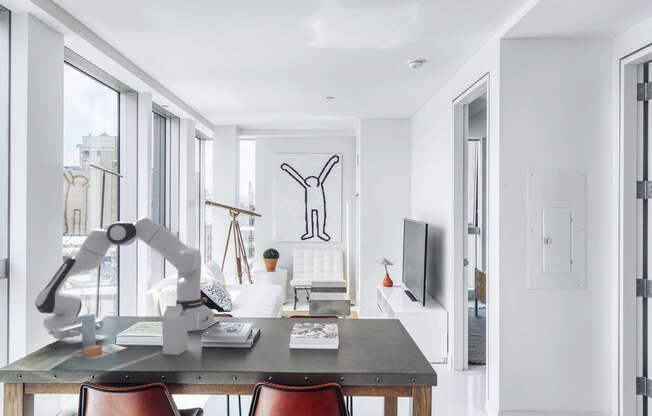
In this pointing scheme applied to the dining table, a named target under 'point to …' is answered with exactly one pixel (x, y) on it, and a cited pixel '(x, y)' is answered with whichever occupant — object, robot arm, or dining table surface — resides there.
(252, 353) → the dining table surface
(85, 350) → the terracotta marker
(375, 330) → the dining table surface
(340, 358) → the dining table surface
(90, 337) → the tall grey block
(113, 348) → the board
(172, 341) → the milk carton
